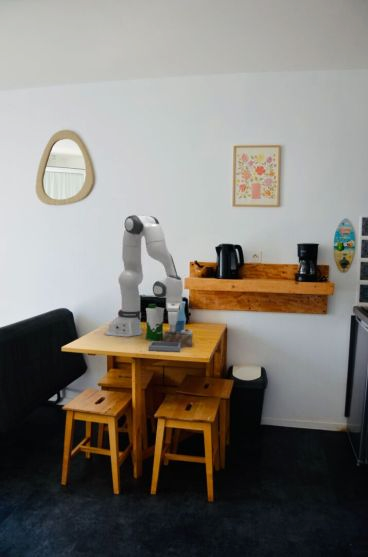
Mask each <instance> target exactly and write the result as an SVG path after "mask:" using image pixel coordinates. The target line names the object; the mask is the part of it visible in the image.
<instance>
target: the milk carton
mask: <svg viewBox="0 0 368 557" xmlns="http://www.w3.org/2000/svg"><path fill="white" fill-rule="evenodd" d="M145 311H146V312H145V313H146V334H145V340H149V341H157V342H158V341H159V340H160V341H161V340H163V335H164V333H163V332H164V330H163V329H164V328H163V327H164V313H165V312H164V311H165V307H158V306H156V303H149V304H148V307H146V308H145Z"/></svg>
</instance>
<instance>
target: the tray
mask: <svg viewBox="0 0 368 557" xmlns="http://www.w3.org/2000/svg"><path fill="white" fill-rule="evenodd" d="M148 351H149V352H163V353H164V352H165V353H168V352H169V353H180V352H181V342H163V341H158V340H157V341H153V340H150V343H149V345H148Z"/></svg>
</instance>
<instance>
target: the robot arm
mask: <svg viewBox="0 0 368 557" xmlns="http://www.w3.org/2000/svg"><path fill="white" fill-rule="evenodd" d="M124 228H125V229H124V232H123V237H122V256H121V258H122V261H123V268H124V271H122V272H120V274H119V276H118V284H119V289H120V294H121V309H119V310H118V311H117V315H118V316H117V317H115V318H114V319H112V320H111V321H110V323H109V324H108V327H107V328H108V329H106V330H105V331H104V335H105V336H114V337H123V338H124V337H127V338H129V337H135V336H140V335H142V334H143V330H142V326H141V325H142V324H141V320H142V319H141V318H142V310H141V296H140V291H139V286H140V284H141V283H142V282H143V279H144V274H143V264H142V238H143V237H144V240H145V241H144V242H145V248H146V252H147V254H148V256H149V257H150V258H152V259H153V260H155V261H158V262H159V263H161V265H162V266H163V267H164V270H165V274H166V277H165V278H163V279H160V280H157V281H155V282H154V283H153V285H152V292H153V295H154V296H155V297H156V298H165V309H166V312H167V320H168V326H170V325H171V331H175V325H176V322H177V319H178V312H180V309H182V301H183V297H182V296H183V287H184V286H183V285H184V284H183V279H182V277H181V276H179V275H178V273H177V269H176V266H175V263H174V262H175V261H174V259H173V256H172V254H171V253H170V251H169V249H168V247H167V244H166V239H165V234H164V231H163V229H162V225H160V222H159V220H158V219H157V217H155V216H152V215H144V214H141V215H135V214H133V215H129V216H127V217H126V218H125V220H124Z"/></svg>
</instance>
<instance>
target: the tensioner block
mask: <svg viewBox="0 0 368 557" xmlns="http://www.w3.org/2000/svg"><path fill="white" fill-rule="evenodd" d="M193 335H194V334H193V330H192V329H188V328H186V329H185V330H181V332H176V334H171V332H170V330H169V331H168V330H167V331H166V330H165V331H164V333H163V339H162V340H163V341H162V342H181V347H182V348H192V347H193Z"/></svg>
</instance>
